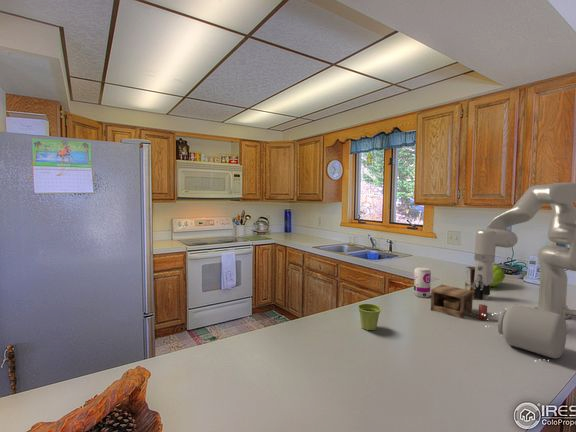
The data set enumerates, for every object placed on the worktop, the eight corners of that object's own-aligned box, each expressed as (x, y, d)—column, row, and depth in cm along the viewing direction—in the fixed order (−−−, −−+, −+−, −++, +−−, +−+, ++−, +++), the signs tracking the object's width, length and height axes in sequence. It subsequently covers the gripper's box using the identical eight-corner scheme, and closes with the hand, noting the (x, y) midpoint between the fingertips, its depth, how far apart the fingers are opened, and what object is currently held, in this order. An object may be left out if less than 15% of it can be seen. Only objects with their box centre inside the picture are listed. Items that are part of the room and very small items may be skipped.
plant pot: (380, 324, 130) (381, 304, 130) (381, 334, 121) (381, 312, 121) (358, 322, 133) (358, 302, 132) (357, 331, 124) (357, 310, 123)
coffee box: (469, 299, 162) (470, 269, 161) (464, 295, 168) (465, 266, 167) (488, 299, 161) (489, 269, 160) (481, 296, 167) (483, 266, 166)
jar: (547, 357, 94) (466, 318, 116) (552, 379, 101) (475, 339, 123) (575, 311, 99) (493, 282, 120) (578, 335, 106) (500, 304, 127)
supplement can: (433, 296, 166) (434, 269, 165) (421, 298, 163) (422, 270, 162) (421, 292, 174) (422, 266, 173) (410, 294, 171) (411, 267, 170)
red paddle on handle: (488, 318, 137) (488, 305, 136) (484, 321, 133) (485, 308, 133) (447, 308, 149) (448, 296, 149) (443, 310, 146) (443, 298, 146)
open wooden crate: (472, 311, 145) (472, 290, 144) (462, 318, 137) (463, 296, 136) (441, 304, 155) (441, 284, 154) (430, 310, 147) (431, 289, 146)
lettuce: (501, 297, 172) (471, 294, 183) (509, 280, 187) (481, 279, 198) (496, 272, 171) (466, 271, 182) (505, 258, 186) (477, 257, 197)
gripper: (488, 261, 126) (485, 303, 127) (500, 257, 137) (497, 295, 138) (468, 258, 131) (465, 298, 132) (481, 254, 143) (478, 290, 144)
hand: (481, 296), depth 135 cm, fingers open, 9 cm apart
